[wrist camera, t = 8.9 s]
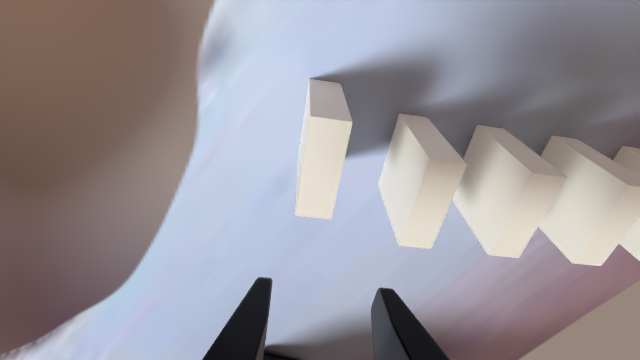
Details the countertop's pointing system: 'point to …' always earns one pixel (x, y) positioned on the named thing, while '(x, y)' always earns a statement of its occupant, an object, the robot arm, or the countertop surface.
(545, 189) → the domino
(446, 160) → the domino
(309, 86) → the domino
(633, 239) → the domino
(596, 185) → the domino
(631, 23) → the countertop surface
